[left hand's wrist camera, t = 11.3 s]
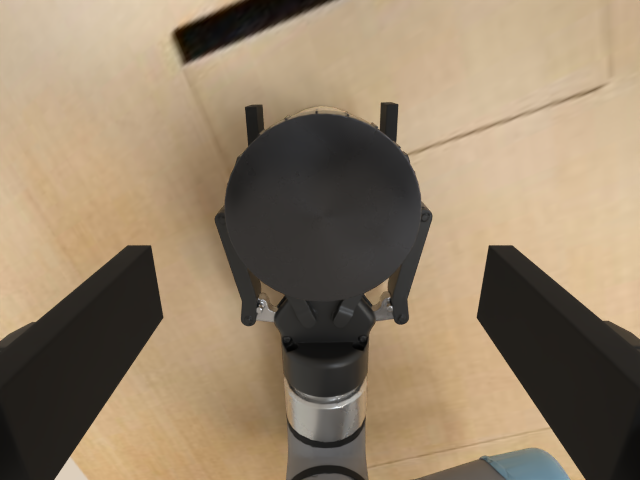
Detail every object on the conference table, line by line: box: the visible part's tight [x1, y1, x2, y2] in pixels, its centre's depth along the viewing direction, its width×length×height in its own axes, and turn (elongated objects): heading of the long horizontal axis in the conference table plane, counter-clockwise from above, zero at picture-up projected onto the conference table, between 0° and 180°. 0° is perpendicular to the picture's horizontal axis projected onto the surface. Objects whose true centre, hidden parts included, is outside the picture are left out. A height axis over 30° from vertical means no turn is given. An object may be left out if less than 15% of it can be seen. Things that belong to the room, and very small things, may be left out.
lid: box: [225, 109, 422, 302], centre depth 20 cm, size 10×10×2 cm
